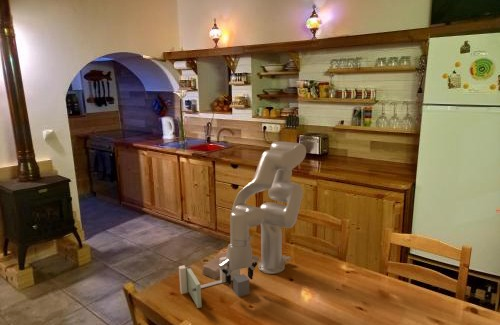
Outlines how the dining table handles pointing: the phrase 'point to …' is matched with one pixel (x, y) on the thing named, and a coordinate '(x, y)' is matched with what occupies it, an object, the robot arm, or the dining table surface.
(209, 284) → the wall frame
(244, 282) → the grey block
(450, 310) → the dining table surface
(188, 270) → the door
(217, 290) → the dining table surface
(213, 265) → the brick
